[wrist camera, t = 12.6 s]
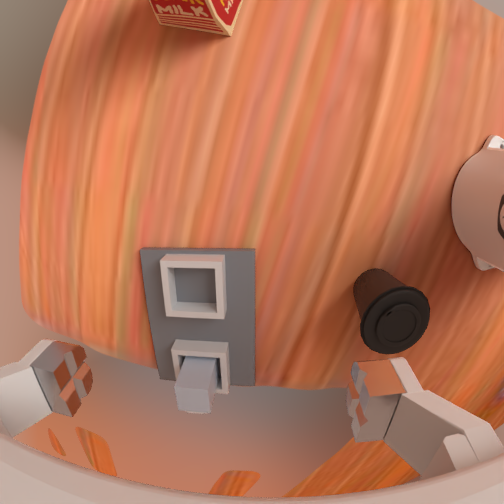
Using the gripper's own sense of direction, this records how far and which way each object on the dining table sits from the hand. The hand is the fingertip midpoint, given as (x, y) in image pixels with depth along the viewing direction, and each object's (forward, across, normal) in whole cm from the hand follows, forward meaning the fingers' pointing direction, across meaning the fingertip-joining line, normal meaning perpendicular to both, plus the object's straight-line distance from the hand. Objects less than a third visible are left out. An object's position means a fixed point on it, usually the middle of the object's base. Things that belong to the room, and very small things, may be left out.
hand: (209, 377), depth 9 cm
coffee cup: (+29, -15, +10) cm, 34 cm away
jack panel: (+29, +7, +15) cm, 33 cm away
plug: (+28, +7, +21) cm, 36 cm away
